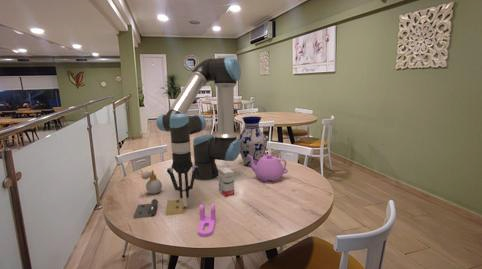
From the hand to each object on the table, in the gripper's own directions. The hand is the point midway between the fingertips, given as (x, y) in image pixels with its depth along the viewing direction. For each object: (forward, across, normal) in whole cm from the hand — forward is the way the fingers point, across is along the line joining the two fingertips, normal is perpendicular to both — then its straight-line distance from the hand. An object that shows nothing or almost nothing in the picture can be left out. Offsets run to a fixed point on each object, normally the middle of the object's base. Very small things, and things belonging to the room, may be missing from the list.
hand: (185, 204), depth 119 cm
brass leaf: (+2, +4, 0) cm, 5 cm away
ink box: (+2, -19, -12) cm, 23 cm away
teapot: (+2, -44, -26) cm, 51 cm away
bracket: (+2, -8, +18) cm, 20 cm away
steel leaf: (+1, +17, 0) cm, 17 cm away
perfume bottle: (+2, +16, -19) cm, 25 cm away
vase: (+2, -41, -54) cm, 68 cm away
